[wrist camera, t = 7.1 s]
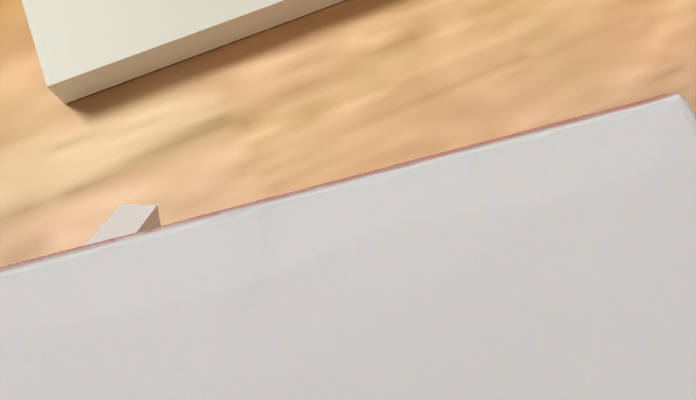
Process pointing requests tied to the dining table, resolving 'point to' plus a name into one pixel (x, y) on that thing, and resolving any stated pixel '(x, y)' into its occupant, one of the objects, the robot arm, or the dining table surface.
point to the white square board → (141, 35)
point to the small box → (394, 282)
